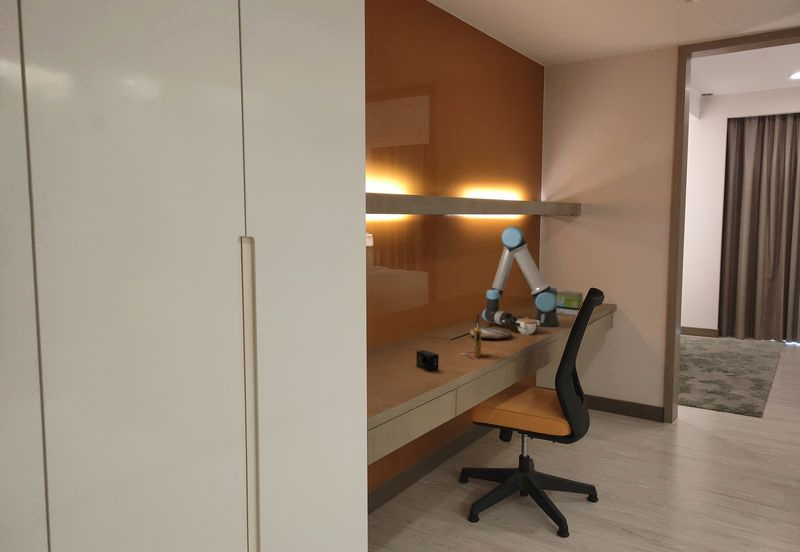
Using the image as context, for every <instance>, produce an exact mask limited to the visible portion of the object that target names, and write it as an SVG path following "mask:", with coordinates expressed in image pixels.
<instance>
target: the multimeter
mask: <svg viewBox="0 0 800 552" xmlns="http://www.w3.org/2000/svg"><path fill="white" fill-rule="evenodd" d="M479 318H480V314H479V313H477V316H476V319H475V322H476V323H475V325H474V328H473V329H474V336H473V350H472V353H473V356H474V358H479V359H482V355H481V353H482V352H481V351H482V338H481V329H480V328H481V327H479V323H480V319H479ZM468 353H469V351H466V352H463V353H461V355H462V356H467V357H470V355H468ZM474 358H473V357H470V359H472V360H474Z"/></svg>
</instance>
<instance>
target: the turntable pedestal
mask: <svg viewBox="0 0 800 552" xmlns="http://www.w3.org/2000/svg"><path fill="white" fill-rule="evenodd" d="M481 339H485V340H498V339H499V338H482V337H481Z"/></svg>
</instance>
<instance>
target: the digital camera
mask: <svg viewBox="0 0 800 552" xmlns="http://www.w3.org/2000/svg"><path fill="white" fill-rule="evenodd" d="M439 355H440V354H438V353H435V352H432V351H428V350H424V349H423V350H417V351H416V367H417V368H420V369H423V370H426V371H430V372H433V371H439Z"/></svg>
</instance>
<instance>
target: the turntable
mask: <svg viewBox="0 0 800 552" xmlns="http://www.w3.org/2000/svg"><path fill="white" fill-rule="evenodd" d="M479 328H480V329H481V337H482V338H481V339H484V338H498V339H504V338H509V337H510V336H511V334H512V331H510V330H509V329H506V328H501V327H500V328H499V327H488V326H487V327H479ZM469 334H470V336H473V337H474V328H471V329H470V330H469Z"/></svg>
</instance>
